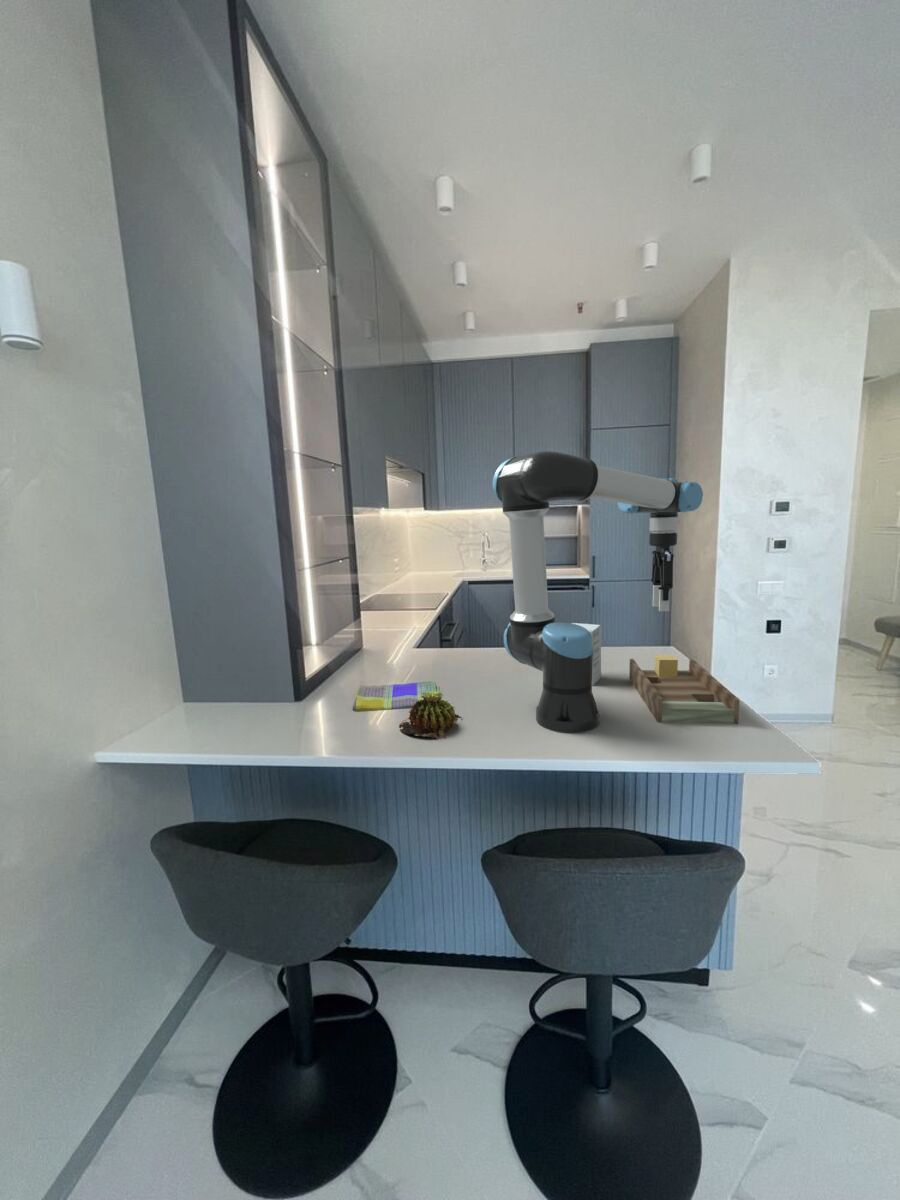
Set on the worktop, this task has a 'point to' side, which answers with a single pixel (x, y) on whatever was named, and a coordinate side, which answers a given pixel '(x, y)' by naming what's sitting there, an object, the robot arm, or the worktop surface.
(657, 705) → the tray
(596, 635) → the supplement box
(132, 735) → the worktop surface
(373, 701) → the dish towel
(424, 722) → the cactus
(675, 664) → the block
